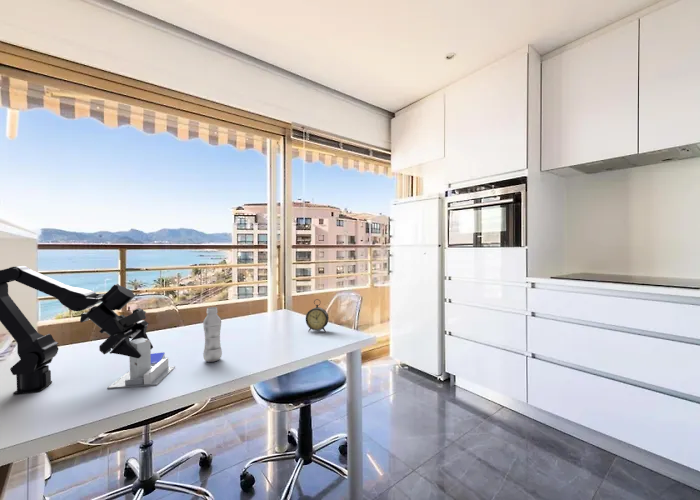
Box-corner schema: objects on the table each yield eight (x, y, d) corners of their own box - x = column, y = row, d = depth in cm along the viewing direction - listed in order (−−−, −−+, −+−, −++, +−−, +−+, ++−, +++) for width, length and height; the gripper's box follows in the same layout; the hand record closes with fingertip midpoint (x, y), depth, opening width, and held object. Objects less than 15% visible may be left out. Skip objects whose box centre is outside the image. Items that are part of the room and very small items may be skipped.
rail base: (107, 388, 94) (107, 376, 94) (132, 370, 108) (131, 359, 108) (156, 385, 97) (156, 373, 96) (175, 367, 110) (174, 356, 110)
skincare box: (129, 377, 101) (127, 340, 101) (144, 372, 105) (142, 337, 105) (137, 381, 98) (135, 344, 97) (152, 376, 101) (150, 340, 101)
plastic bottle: (217, 356, 121) (217, 305, 121) (225, 360, 116) (224, 308, 116) (200, 360, 117) (199, 308, 116) (207, 365, 112) (206, 310, 111)
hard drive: (159, 362, 110) (164, 352, 121) (131, 365, 107) (140, 354, 118) (159, 366, 110) (164, 356, 121) (131, 370, 107) (140, 359, 118)
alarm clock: (305, 332, 152) (305, 299, 152) (308, 329, 158) (308, 297, 157) (326, 333, 151) (326, 300, 150) (329, 330, 156) (329, 298, 156)
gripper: (109, 308, 91) (151, 344, 93) (142, 297, 109) (176, 326, 111) (80, 336, 90) (123, 371, 92) (117, 320, 108) (152, 349, 110)
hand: (146, 352), depth 101 cm, fingers open, 8 cm apart
